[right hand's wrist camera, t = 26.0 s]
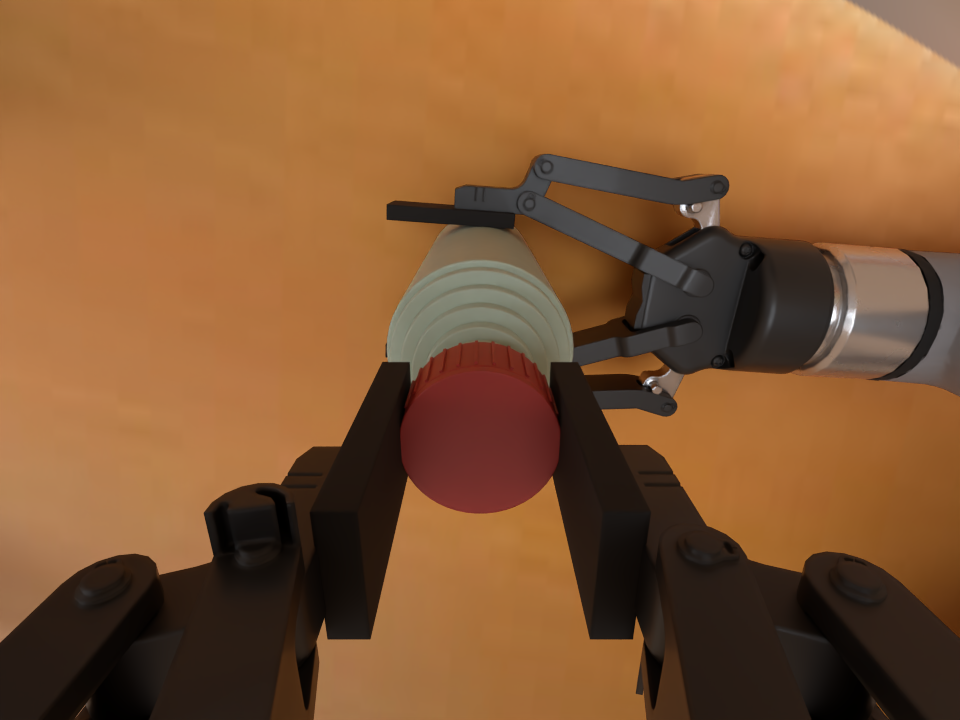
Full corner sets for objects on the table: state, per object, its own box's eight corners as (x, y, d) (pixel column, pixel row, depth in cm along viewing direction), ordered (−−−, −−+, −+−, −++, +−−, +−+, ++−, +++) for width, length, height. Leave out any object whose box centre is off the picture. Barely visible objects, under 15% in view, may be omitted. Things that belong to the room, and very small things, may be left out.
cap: (427, 480, 15) (419, 528, 13) (390, 355, 14) (375, 387, 12) (562, 456, 15) (575, 500, 13) (539, 324, 14) (549, 352, 12)
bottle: (409, 271, 35) (298, 443, 14) (473, 190, 33) (460, 241, 12) (486, 332, 36) (494, 572, 15) (551, 258, 35) (665, 413, 13)
